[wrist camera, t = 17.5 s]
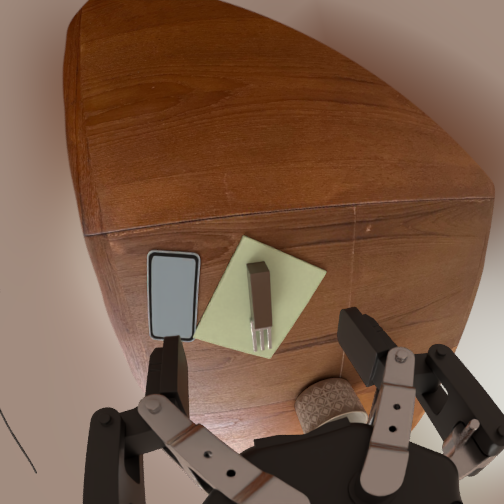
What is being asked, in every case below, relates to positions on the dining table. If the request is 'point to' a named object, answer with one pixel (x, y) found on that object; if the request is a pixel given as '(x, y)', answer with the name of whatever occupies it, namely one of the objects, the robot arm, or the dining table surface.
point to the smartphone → (172, 293)
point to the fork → (260, 302)
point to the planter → (328, 404)
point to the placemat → (238, 304)
